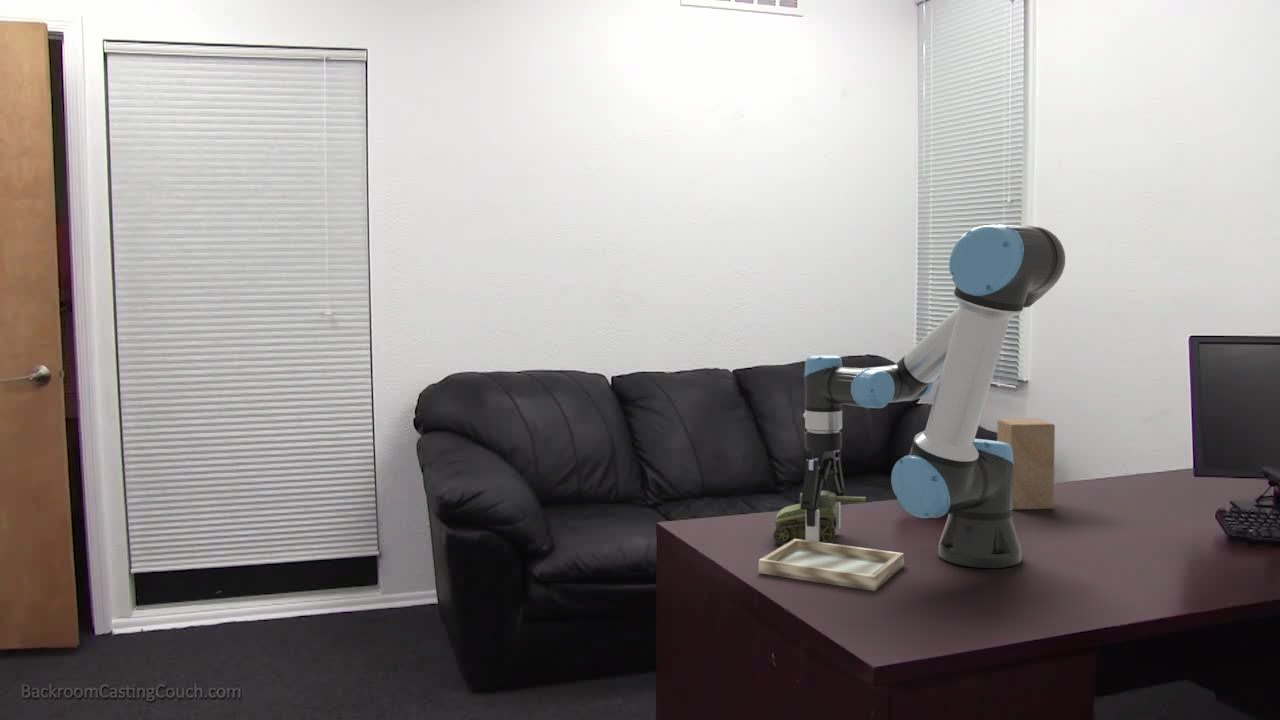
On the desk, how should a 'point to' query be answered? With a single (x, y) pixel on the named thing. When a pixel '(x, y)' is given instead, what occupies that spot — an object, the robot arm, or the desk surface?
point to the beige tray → (832, 564)
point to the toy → (793, 519)
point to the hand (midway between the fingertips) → (823, 534)
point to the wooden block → (1030, 461)
